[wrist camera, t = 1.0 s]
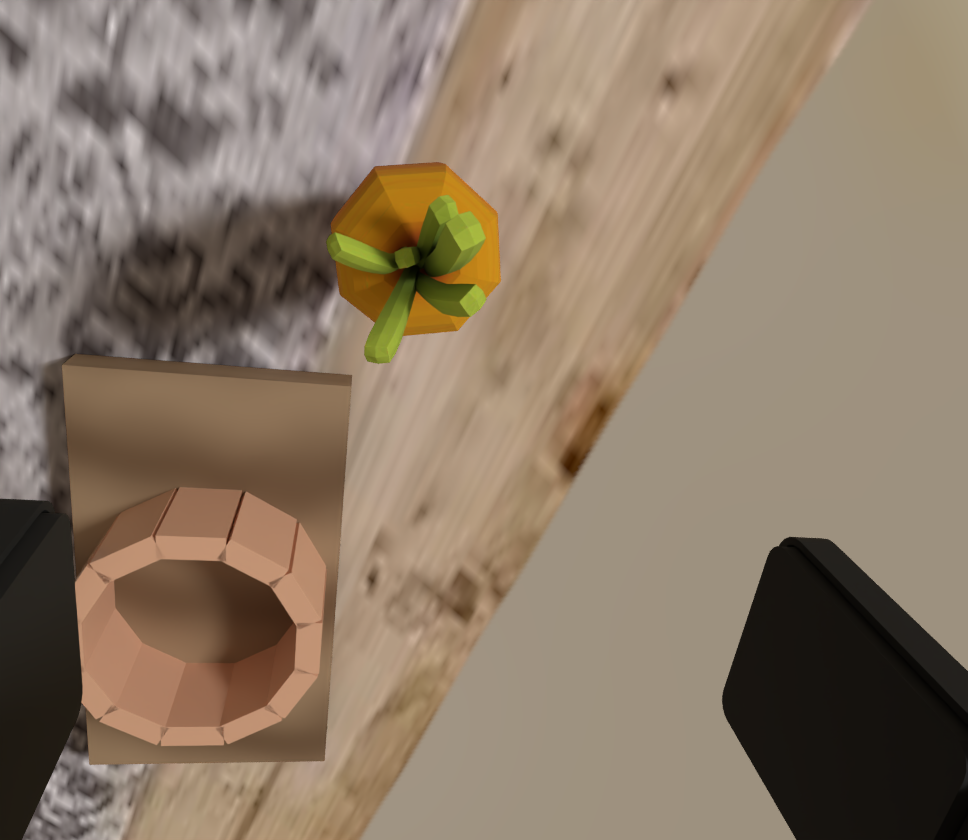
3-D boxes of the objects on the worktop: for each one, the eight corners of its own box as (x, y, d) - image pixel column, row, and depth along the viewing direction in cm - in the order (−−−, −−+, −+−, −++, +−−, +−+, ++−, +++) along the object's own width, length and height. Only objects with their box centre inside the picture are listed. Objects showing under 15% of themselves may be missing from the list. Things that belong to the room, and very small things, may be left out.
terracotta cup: (82, 482, 31) (45, 531, 27) (331, 494, 33) (327, 541, 29) (95, 680, 34) (63, 747, 31) (319, 680, 36) (314, 744, 33)
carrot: (376, 295, 31) (386, 432, 18) (314, 183, 29) (271, 239, 16) (483, 240, 31) (577, 335, 17) (427, 124, 29) (485, 127, 15)
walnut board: (75, 353, 30) (61, 364, 29) (351, 375, 32) (351, 386, 31) (99, 740, 37) (89, 764, 36) (325, 738, 39) (324, 761, 38)
